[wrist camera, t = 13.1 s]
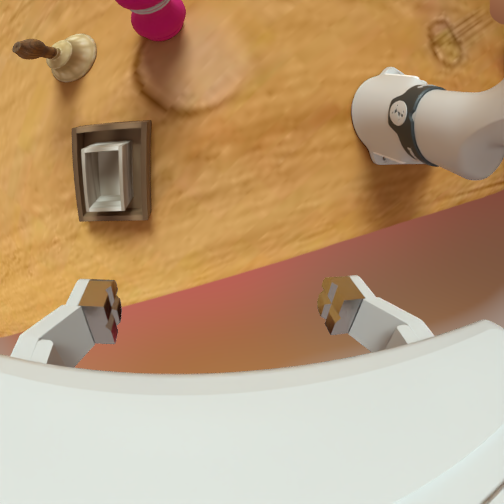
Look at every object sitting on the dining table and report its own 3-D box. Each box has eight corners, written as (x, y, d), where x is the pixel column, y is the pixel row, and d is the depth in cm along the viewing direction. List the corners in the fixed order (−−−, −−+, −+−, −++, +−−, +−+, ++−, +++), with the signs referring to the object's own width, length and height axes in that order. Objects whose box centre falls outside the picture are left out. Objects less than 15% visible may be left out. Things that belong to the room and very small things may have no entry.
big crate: (151, 120, 36) (146, 121, 33) (151, 211, 43) (147, 220, 40) (81, 126, 33) (71, 128, 30) (86, 212, 40) (79, 221, 37)
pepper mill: (158, 53, 31) (124, 14, 14) (128, 26, 27) (80, -21, 10) (196, 23, 29) (197, -36, 12) (167, -4, 26) (147, -69, 9)
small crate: (132, 140, 36) (121, 146, 31) (133, 196, 40) (124, 210, 35) (95, 142, 35) (81, 149, 30) (99, 197, 39) (86, 211, 34)
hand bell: (70, 92, 30) (13, 94, 17) (43, 65, 26) (-16, 61, 12) (106, 51, 28) (61, 30, 15) (77, 25, 24) (27, 1, 11)
